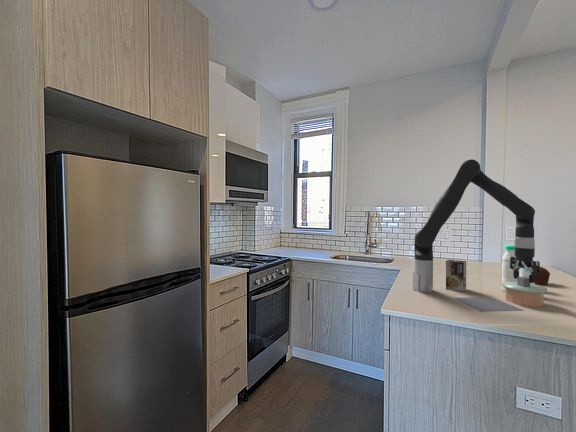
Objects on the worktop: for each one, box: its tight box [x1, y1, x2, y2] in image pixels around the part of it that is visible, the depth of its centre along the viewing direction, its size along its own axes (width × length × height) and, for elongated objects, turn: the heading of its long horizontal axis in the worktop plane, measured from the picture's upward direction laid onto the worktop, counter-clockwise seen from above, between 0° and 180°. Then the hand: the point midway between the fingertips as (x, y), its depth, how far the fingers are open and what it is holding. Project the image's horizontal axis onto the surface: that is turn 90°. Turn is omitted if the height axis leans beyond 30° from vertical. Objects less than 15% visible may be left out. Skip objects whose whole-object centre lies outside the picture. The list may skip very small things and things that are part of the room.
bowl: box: [504, 288, 545, 308], centre depth 141 cm, size 14×14×7 cm
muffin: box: [535, 266, 551, 286], centre depth 178 cm, size 12×11×10 cm
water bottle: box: [501, 244, 517, 292], centre depth 160 cm, size 7×7×25 cm
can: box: [519, 268, 535, 284], centre depth 165 cm, size 7×7×12 cm
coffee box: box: [445, 259, 467, 292], centre depth 164 cm, size 9×6×16 cm
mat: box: [453, 296, 526, 312], centre depth 138 cm, size 20×20×1 cm
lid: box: [501, 277, 548, 294], centre depth 141 cm, size 17×17×5 cm
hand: (523, 280), depth 141 cm, fingers open, 8 cm apart
